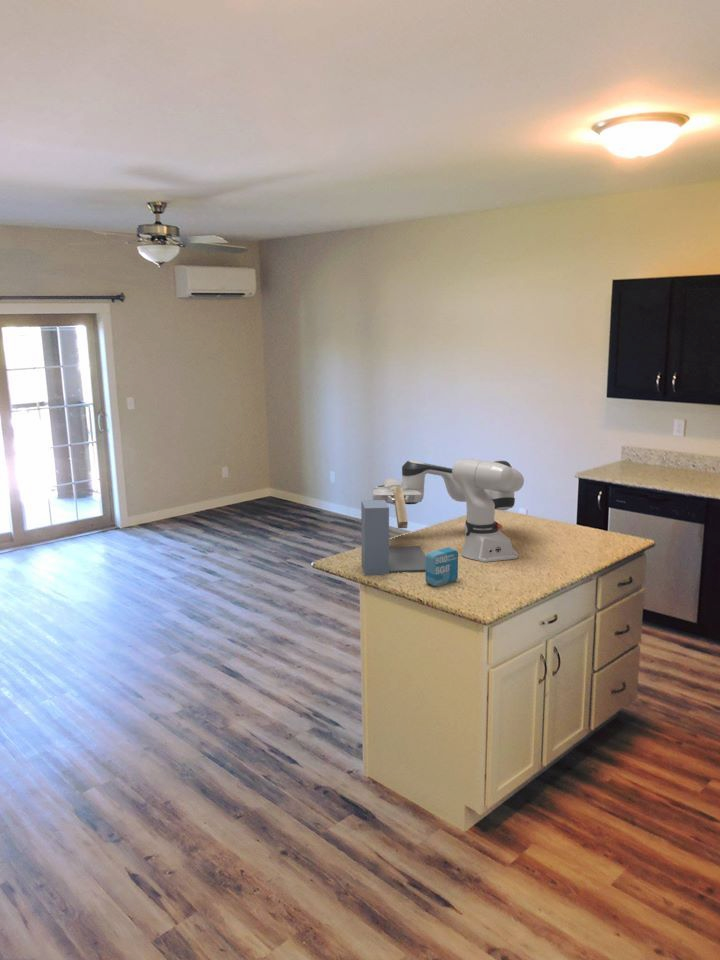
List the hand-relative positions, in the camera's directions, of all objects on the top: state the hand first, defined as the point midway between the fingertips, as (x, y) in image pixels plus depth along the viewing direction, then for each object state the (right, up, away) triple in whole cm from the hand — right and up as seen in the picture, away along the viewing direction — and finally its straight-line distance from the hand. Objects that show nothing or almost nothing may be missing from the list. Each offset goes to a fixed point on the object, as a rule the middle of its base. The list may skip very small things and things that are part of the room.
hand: (399, 501), depth 300 cm
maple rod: (0, -4, -1) cm, 4 cm away
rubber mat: (+2, -24, -1) cm, 24 cm away
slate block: (-10, -26, -13) cm, 31 cm away
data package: (+14, -29, -26) cm, 42 cm away
